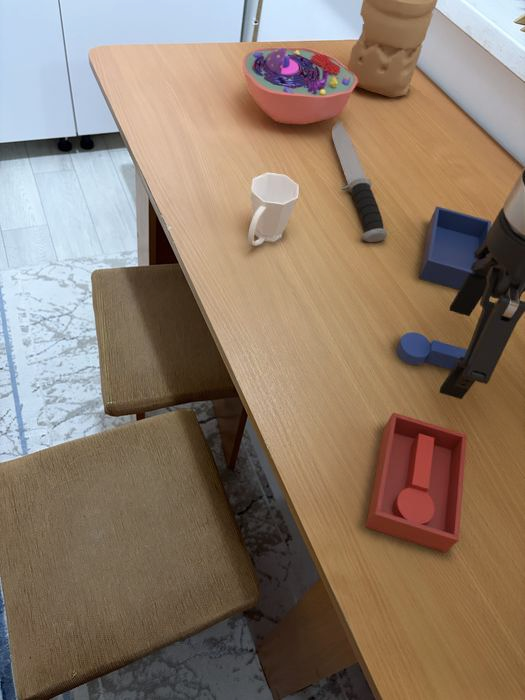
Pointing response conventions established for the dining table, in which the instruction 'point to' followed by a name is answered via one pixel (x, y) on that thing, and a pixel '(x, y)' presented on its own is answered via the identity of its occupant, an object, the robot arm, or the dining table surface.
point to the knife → (358, 185)
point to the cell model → (298, 83)
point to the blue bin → (451, 246)
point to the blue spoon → (428, 351)
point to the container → (390, 44)
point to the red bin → (441, 486)
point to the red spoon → (417, 484)
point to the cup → (271, 206)
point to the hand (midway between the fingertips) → (455, 350)
